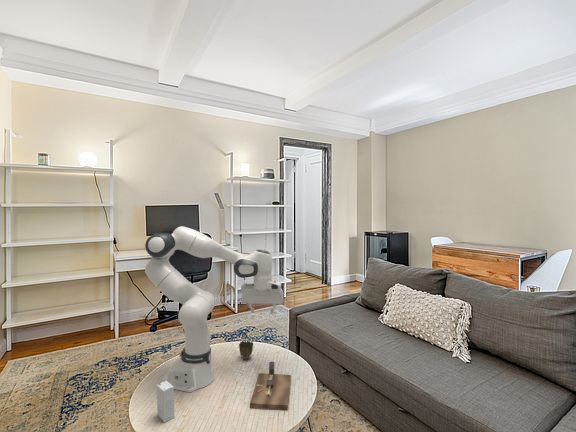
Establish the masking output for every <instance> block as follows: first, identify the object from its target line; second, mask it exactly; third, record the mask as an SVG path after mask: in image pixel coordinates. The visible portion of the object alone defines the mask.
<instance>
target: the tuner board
mask: <svg viewBox="0 0 576 432" xmlns="http://www.w3.org/2000/svg"><path fill="white" fill-rule="evenodd" d="M291 375H292V374H281V373H274V374H273V378H272V380H273V387H272V388H270V394H269V395H268V387H267V380H269V378H270V374H269V373H265V372H264V373H263V372H262V373H261V372H259V373H258V375H257V378H256V382H255V386H254V388H253V392H252V395H251V399H250V402H249V408H250V409H257V410H258V409H259V410H260V409H261V410H277V411H278V410H279V411H289V410H288V409H289V398H290V397H289V396H290V392H291V391H290V390H291V389H290V388H291V380H292V378H291V377H292V376H291Z"/></svg>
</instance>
